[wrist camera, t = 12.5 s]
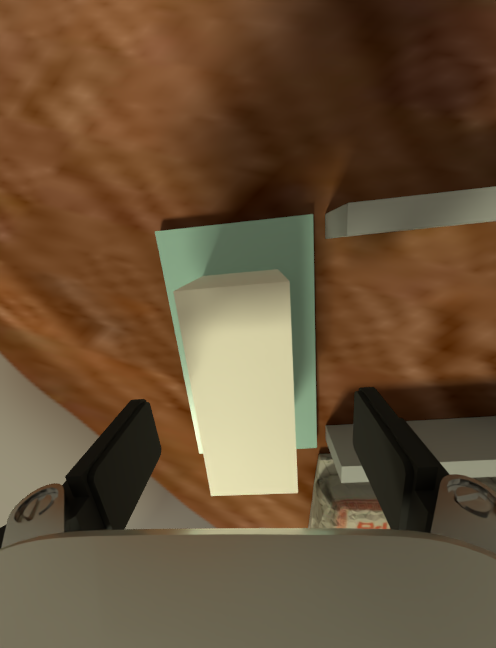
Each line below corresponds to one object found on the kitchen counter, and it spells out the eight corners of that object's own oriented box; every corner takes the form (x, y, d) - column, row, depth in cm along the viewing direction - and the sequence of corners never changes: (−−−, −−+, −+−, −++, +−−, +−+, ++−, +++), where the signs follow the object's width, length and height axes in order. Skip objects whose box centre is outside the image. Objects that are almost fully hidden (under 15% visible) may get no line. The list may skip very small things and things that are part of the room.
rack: (591, 184, 14) (712, 162, 11) (520, 429, 20) (582, 473, 16) (325, 214, 15) (347, 203, 12) (325, 439, 21) (341, 483, 17)
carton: (277, 269, 16) (289, 281, 10) (285, 420, 19) (297, 493, 14) (202, 275, 16) (173, 291, 10) (224, 423, 20) (211, 495, 14)
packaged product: (316, 587, 20) (331, 501, 17) (305, 524, 25) (315, 447, 22) (538, 601, 20) (594, 514, 17) (485, 533, 24) (520, 456, 21)
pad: (310, 215, 15) (313, 214, 15) (314, 440, 21) (316, 447, 20) (159, 232, 16) (154, 231, 15) (201, 446, 21) (199, 453, 21)
